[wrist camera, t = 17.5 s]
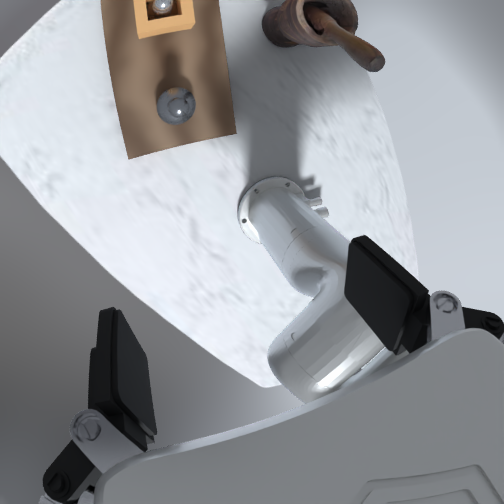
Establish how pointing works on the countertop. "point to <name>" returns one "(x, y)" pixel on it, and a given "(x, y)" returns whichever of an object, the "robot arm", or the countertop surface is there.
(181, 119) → the shiny metal knob
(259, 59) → the countertop surface
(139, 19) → the collar
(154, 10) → the silver round flared piece
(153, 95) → the board
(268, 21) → the mortar and pestle
